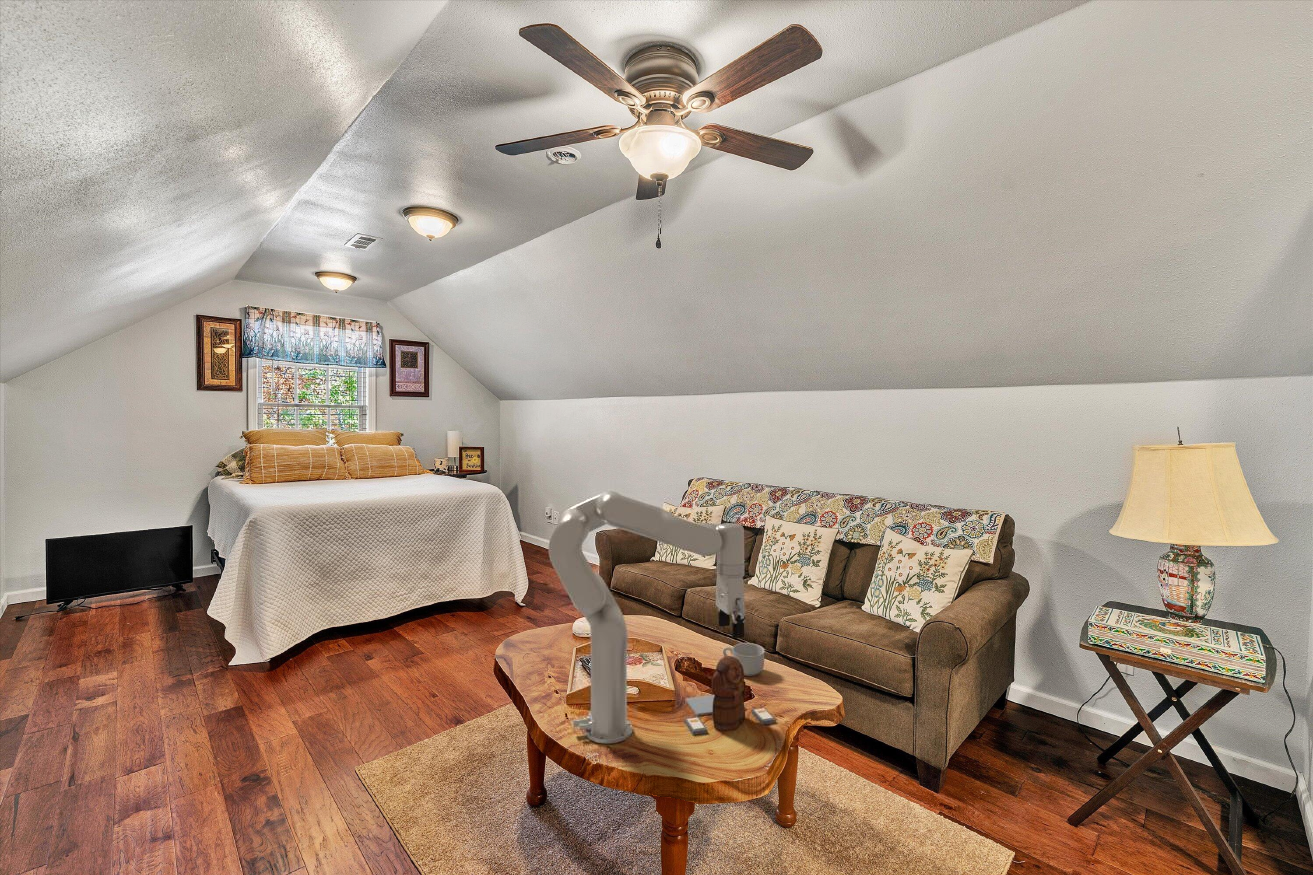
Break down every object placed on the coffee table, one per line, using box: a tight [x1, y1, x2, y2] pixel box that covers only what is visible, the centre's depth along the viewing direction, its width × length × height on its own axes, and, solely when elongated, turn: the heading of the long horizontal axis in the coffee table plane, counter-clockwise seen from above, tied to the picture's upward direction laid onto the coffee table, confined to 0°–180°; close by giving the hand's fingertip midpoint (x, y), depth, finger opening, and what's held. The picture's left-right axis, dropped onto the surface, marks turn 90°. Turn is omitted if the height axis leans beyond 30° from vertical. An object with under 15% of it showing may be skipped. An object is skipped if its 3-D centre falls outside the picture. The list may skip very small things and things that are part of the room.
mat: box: [685, 694, 747, 717], centre depth 169 cm, size 15×10×1 cm, turn 106°
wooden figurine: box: [711, 655, 747, 732], centre depth 159 cm, size 12×6×18 cm, turn 146°
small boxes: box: [683, 707, 777, 736], centre depth 159 cm, size 24×7×1 cm, turn 106°
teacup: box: [722, 642, 766, 677], centre depth 193 cm, size 14×11×8 cm
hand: (731, 631), depth 159 cm, fingers open, 9 cm apart
